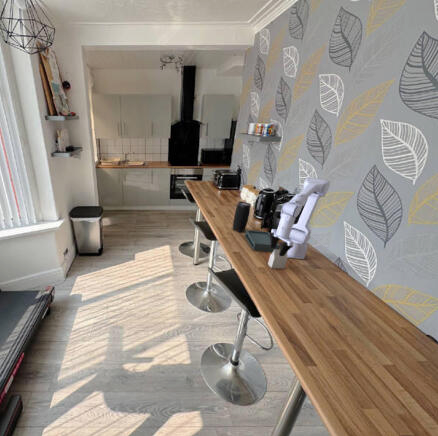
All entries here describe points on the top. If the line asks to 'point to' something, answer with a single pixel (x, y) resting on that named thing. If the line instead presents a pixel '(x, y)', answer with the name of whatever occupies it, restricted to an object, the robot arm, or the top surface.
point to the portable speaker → (241, 216)
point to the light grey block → (277, 260)
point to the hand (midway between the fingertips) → (276, 251)
